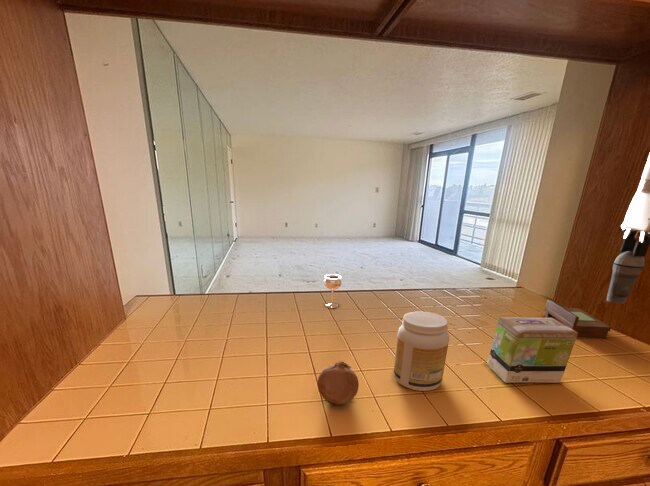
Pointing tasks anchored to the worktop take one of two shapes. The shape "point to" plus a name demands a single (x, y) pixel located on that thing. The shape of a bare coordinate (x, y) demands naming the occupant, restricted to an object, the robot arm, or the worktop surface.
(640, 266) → the beverage cup
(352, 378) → the onion
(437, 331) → the supplement tub
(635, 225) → the robot arm
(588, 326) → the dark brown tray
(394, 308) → the worktop surface
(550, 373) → the tea box
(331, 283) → the wineglass
